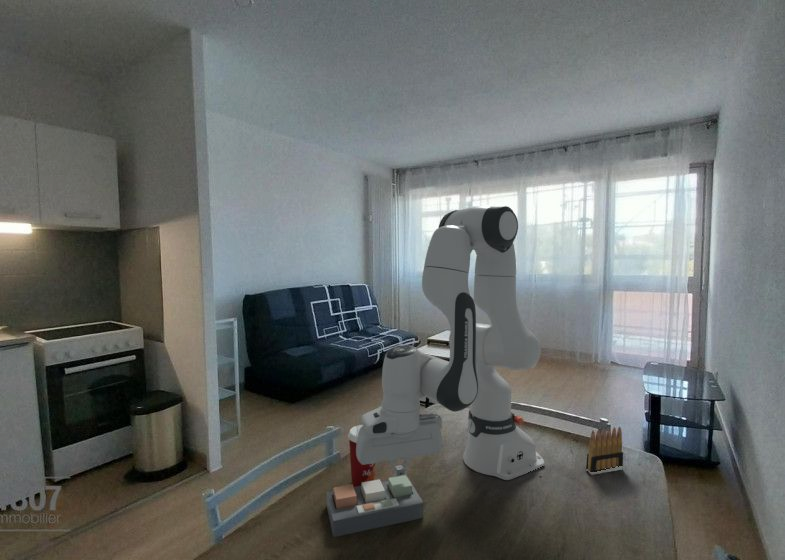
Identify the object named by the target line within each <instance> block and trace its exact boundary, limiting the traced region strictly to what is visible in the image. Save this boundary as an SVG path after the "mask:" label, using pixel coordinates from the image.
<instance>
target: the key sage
mask: <svg viewBox="0 0 785 560" xmlns="http://www.w3.org/2000/svg"><path fill="white" fill-rule="evenodd" d="M407 477H408V475H404V476H399V477H394V476H392V477H388V478H387V481H388V488H389V490H390V492H391V494H392V496H393V498H396V497H401V496H406V495H411V494H412V485H413V483H412V482H411V483H412V484H411V483H410V481H411V480H410V478H409V477H408V478H409V479H408V478H407ZM409 480H410V481H409Z"/></svg>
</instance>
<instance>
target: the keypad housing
mask: <svg viewBox="0 0 785 560" xmlns="http://www.w3.org/2000/svg"><path fill="white" fill-rule="evenodd" d="M407 478H408V479H409V481H410V483H411V484H412V494H411V495H406V496H401V497H396V498H393V496H392V494H391V492H390V490H389V488H388V480H384V481H381V483H382V485H383V487H384V490H385V500H380V501H375V502H370V503H365V501H364V498H363V495H362V493H361V486H356V487H354V490H355V493H356V496H357V505H354V506H349V507H344V508H339V509H336V506H335V502H334V498H333V490H329V491H326V509H327V514H328V519H329V523H330V528H331V533H332V537H333V538H336V537H341V536H346V535H350V534H355V533H359V532H364V531H369V530H373V529H377V528H382V527H387V526H391V525H396V524H397V525H398V524H401V523H405V522H410V521H415V520H416V521H417V520H419V519H423V518H424V506H425V505H424V501H423V499H422V498H421V496H420V495H419V493H418V491H417V490H416V487H414V485H413V483H412V481H411V479H410V477H408V476H407Z"/></svg>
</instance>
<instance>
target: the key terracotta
mask: <svg viewBox="0 0 785 560" xmlns="http://www.w3.org/2000/svg"><path fill="white" fill-rule="evenodd" d="M332 491H333V498H334V502H335V506H336V509H339V508H344V507H349V506H354V505H357V496H356V493H355V490H354V487H353V484H352V483H351V484H347V485H340V486H334V487H333V490H332Z"/></svg>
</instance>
